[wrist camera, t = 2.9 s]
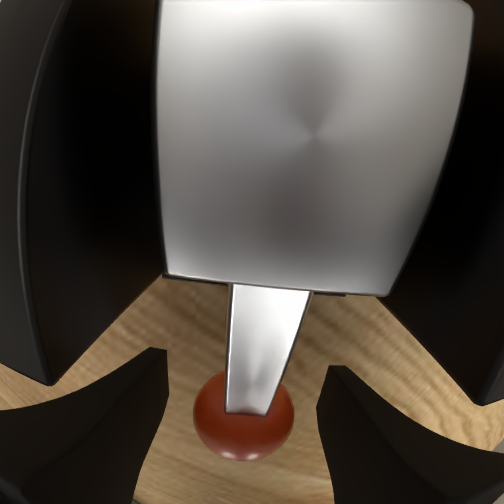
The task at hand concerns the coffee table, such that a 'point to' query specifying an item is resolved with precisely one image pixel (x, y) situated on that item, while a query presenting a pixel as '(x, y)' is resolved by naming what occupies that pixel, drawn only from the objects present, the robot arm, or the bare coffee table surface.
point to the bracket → (143, 199)
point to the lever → (295, 169)
